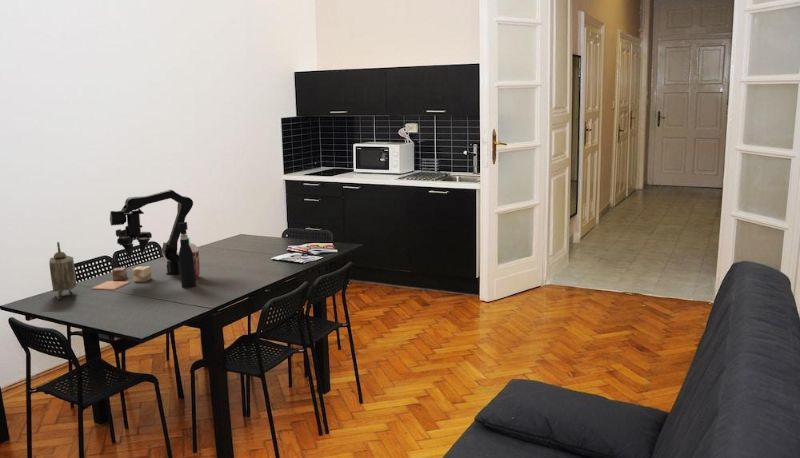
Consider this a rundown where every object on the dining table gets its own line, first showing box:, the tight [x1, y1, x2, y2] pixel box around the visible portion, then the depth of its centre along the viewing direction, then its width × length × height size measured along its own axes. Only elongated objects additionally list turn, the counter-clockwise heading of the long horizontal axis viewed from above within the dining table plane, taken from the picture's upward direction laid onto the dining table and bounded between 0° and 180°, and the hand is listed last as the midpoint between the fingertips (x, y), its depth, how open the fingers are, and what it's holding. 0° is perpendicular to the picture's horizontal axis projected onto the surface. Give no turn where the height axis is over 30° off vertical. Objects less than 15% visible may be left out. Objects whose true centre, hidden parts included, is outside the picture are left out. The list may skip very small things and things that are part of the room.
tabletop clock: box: [48, 241, 77, 301], centre depth 312 cm, size 14×9×25 cm, turn 23°
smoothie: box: [188, 237, 201, 279], centre depth 335 cm, size 8×8×20 cm
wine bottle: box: [178, 221, 197, 289], centre depth 319 cm, size 6×6×30 cm
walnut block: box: [111, 267, 128, 281], centre depth 341 cm, size 5×5×5 cm
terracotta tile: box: [91, 280, 131, 291], centre depth 328 cm, size 12×12×1 cm
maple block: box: [131, 265, 153, 282], centre depth 337 cm, size 6×6×6 cm
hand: (136, 255), depth 336 cm, fingers open, 9 cm apart
